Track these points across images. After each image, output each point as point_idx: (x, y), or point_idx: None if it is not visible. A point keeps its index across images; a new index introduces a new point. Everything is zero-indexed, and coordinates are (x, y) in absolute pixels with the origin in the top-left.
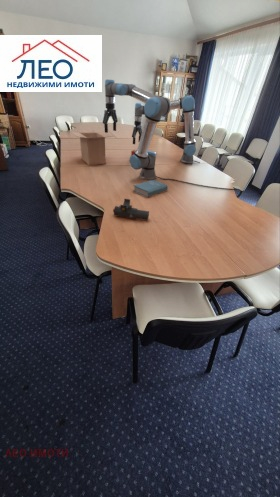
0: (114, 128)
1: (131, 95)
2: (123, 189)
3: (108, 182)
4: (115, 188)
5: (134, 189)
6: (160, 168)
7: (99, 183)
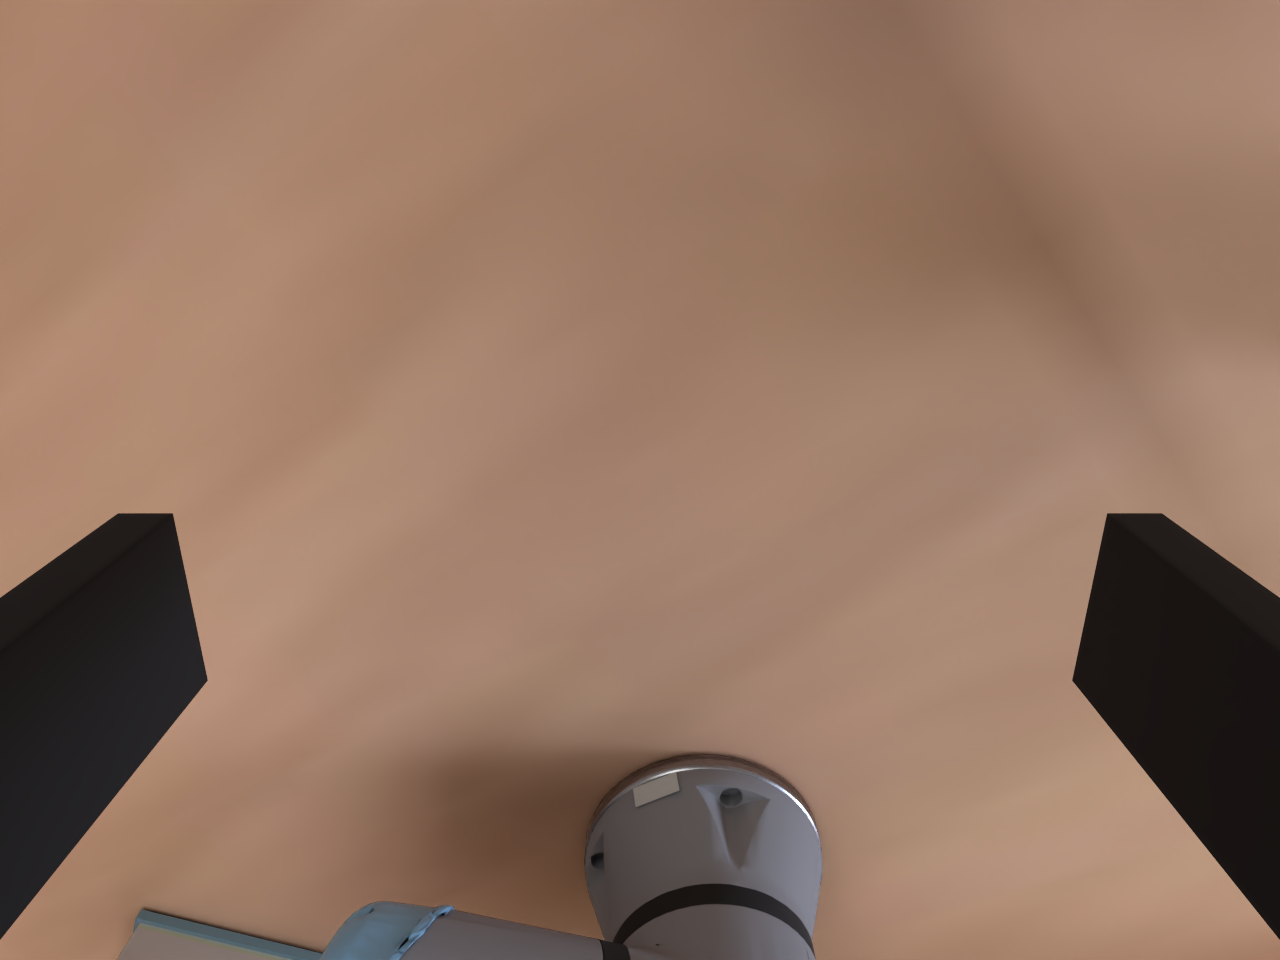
0: (1159, 676)
1: None
2: None
3: None
4: None
5: (131, 938)
6: None
7: (5, 465)
